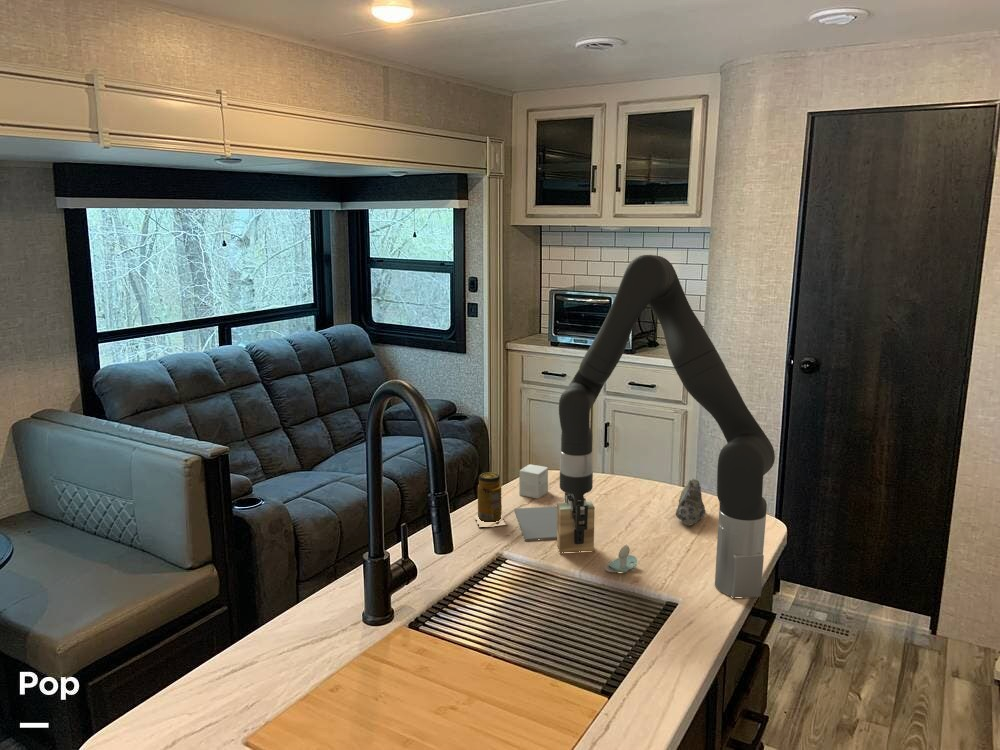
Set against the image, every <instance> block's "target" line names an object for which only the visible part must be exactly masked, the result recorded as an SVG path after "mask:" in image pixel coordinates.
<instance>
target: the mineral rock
mask: <svg viewBox="0 0 1000 750" xmlns="http://www.w3.org/2000/svg"><path fill="white" fill-rule="evenodd" d="M700 485H701V484H700V482H699V480H698V479H697V478H696V479H695V478H692V479H689V480H688V482H687V484H686V485H685V486H684V488H682V491H680V496H679V499H678V505H677V509H676V510H675V517H676V518H677V519H678V520H680V521H681V522H682V523H683V524H684V525H685V526H691V525H692V526H693V525H695V524H696V523H697V522H699V521H701V520H702V518H703V517H704V515H705V514H706V508H705V504H704V502H703V498H702V497H703V496H702V489H701V486H700Z"/></svg>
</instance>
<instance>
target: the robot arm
mask: <svg viewBox="0 0 1000 750" xmlns="http://www.w3.org/2000/svg"><path fill="white" fill-rule="evenodd" d="M648 305H649V307H650V308H651V310H652V311H653V313H654V314H655V316H656V318H657V320H658V321H659V324H660V326H661V329H662V332H663V336H664V340H665V345H666V349H667V352H668V353H667V354H668V356H669V359H670V361H671V364H672V366H673V368H674V370H675V372H676V374H677V376H678V378H679V380H680V381H681V383H682V385H683V387H684V388H685V390H686V391H687V393H688V394H689V395H690V396H691V398H693V399H694V400H695V401H696V402H697V403H699V405H701V406H702V407H703V409H705V410H706V411H707V412H708V413H709V414H710V415H711V416H712V418H713V419H714V420H715V422H716V424H718V426H719V428H720V430H721V432H722V434H723V436H724V439H725V442H727V443H725V445H724V446H723V447H722V448H721V450H720V451H719V455H718V460H717V467H716V468H717V473H716V475H717V476H716V477H717V478H716V496H717V499H718V502H719V511H718V524H717V538H716V540H717V542H716V543H717V544H716V558H715V575H714V577H715V578H714V586H715V588H716V589H717V590H718V591H719V590H720V591H721V593H722V592H723V593H722V594H724V593H726V594H728V595H727V596H729V595H731V596H732V597H733V598H735V597H749V598H759V597H762V595H761V594H762V585H763V584H762V583H763V572H764V560H765V558H764V557H765V556H764V549H765V546H764V545H765V534H766V521H767V510H768V509H767V508H768V503H767V501H766V499H765V498H764V496H763V489H764V488H763V487H764V476H765V475H766V474H767V473H768V472H769V471H771V469H772V468H773V466H774V464H775V458H776V456H775V455H776V453H775V449H774V447H773V444H772V443H771V441H770V438H768V436H767V435H766V433H765V432H764V430H763V429H762V428H761V426H760V424H759V423H758V421H757V420H756V419H755V417H754V416H753V414H752V413H751V411H750V410H749V408H748V407H747V405H746V403H745V401H744V400H743V397H742V395H741V394H740V392H739V389H738V388H737V386H736V384H735V383H734V380H733V379H732V377H731V375H730V373H729V371H728V370H727V367H726V365H725V363H724V362H723V360H722V358H721V356H720V354H719V352H718V350H717V348H716V347H715V345H714V343H713V341H712V340H711V338H710V337H709V335H708V333H707V331H706V330H705V328H704V326H703V325H702V323H701V321H700V320H699V318H698V317H697V316H696V314H695V312H694V310H693V309H692V307H691V305H690V303H689V301H688V299H687V296H686V294H685V292H684V289H683V287H682V284H681V281H680V279H679V276H678V275H677V272H676V270H675V268H674V266H673V264H672V263H671V262H670V261H669V260H668V259H667V258H666V257H663V256H660V255H655V254H654V255H653V254H642V255H639V256H636V257H635V258H633V259H631V261H630V262H629V263H628V264H627V266H626V269H625V271H624V274H623V276H622V278H621V280H620V284H619V287H618V289H617V292H616V295H615V297H614V299H613V301H612V304H611V306H610V307H609V310H608V313H607V315H606V317H605V319H604V321H603V323H602V325H601V327H600V328H599V331H598V332H597V333H596V336H595V337H594V339H593V341H592V343H591V344H590V346H589V348H588V350H587V351H586V352H585V355H584V357H583V358H582V360H581V362H580V364H579V369H578V370H577V372H576V373H575V375H574V377H573V378H572V379H571V381H570V383H569V384H568V386H567V387H566V389H565V390H564V391H563V392H562V393H561V395H560V397H559V401H558V417H559V423H560V424H559V425H560V428H561V429H560V430H561V435H560V436H561V437H560V441H561V442H560V456H559V458H560V459H559V489H560V491H563V492H564V503H568V505H569V507H570V515H571V519H572V520H573V524H574V526H573V528H574V543H575V544H583V543H584V530H587V520H588V506H587V505H586V502H587V500H586V498H585V495H586V494H587V493H590V492H591V491H592V490H593V484H594V483H593V481H594V479H593V478H594V472H593V471H594V459H593V431H592V428H591V427H590V418H591V417H590V416H591V415H590V414H591V413H590V412H591V409H592V407H593V406H594V404H595V403H596V400H597V399H598V397H599V395H600V393H601V391H602V389H603V387H604V385H605V383H606V382H607V380H608V379H609V378H610V376H612V373H613V372H614V370H615V369H616V367H617V365H618V363H619V361H620V360H621V358H622V357H623V354H624V352H625V350H626V348H627V344H628V343H629V339H630V335H631V333H632V330H633V329H634V326H635V324H636V322H637V321H638V319H639V317H640V316H641V314H642V313H643V311H644V310H645V309H646V307H647V306H648ZM574 513H575V514H576V515H574ZM580 521H582V524H579V522H580ZM720 591H719V592H720ZM726 594H725V595H726ZM749 598H748V599H749Z"/></svg>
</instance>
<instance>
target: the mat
mask: <svg viewBox="0 0 1000 750" xmlns="http://www.w3.org/2000/svg"><path fill="white" fill-rule="evenodd" d="M513 511H514V514H515V517H516V519H517V522H519V523H518V526H519V525H520V526H519V528H521V529H520V531H522V532H521V535H522V536H524V537H523V539H525V540H536V541H542V540H541V539H551V540H556V539H555V538H557V505H555V506H553V505H552V506H540V507H539V506H538V507H523V508H522V507H521V508H514V509H513ZM538 539H540V540H538ZM525 540H524V541H525Z"/></svg>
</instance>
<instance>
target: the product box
mask: <svg viewBox="0 0 1000 750" xmlns="http://www.w3.org/2000/svg"><path fill="white" fill-rule="evenodd" d="M518 477H519V480H518V481H519V482H518V483H519V485H518V487H519V489H518V490H519V491H518V493H519V496H522V497H527V498H533V499H540V498H541V497H542V496H544V495H546V494H547V493H548V492H549V467H547V466H543V465H536V464H531V463H530V464H527V465H525V466H524V467H523V468H521V469H520V470H519V476H518Z"/></svg>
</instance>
